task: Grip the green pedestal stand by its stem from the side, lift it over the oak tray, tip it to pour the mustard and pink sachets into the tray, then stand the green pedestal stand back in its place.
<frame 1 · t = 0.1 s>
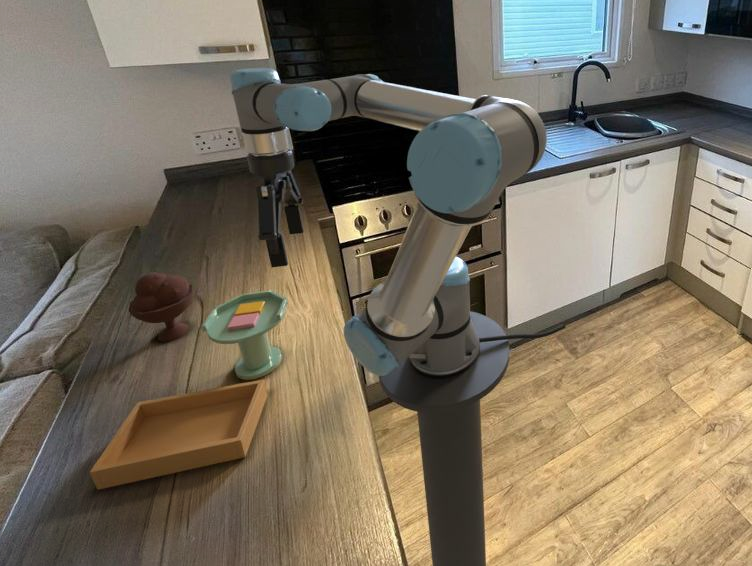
hand: (288, 248, 91), 22 cm above the table, tool pointing down, fingers open, 13 cm apart
ice cream bowl: (173, 333, 97), on the table
green pedestal stand: (259, 364, 89), on the table, touching sachet a, sachet b
sachet a: (250, 310, 87), point 12 cm above the table, touching green pedestal stand
sachet b: (244, 323, 83), point 12 cm above the table, touching green pedestal stand
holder: (192, 437, 74), on the table
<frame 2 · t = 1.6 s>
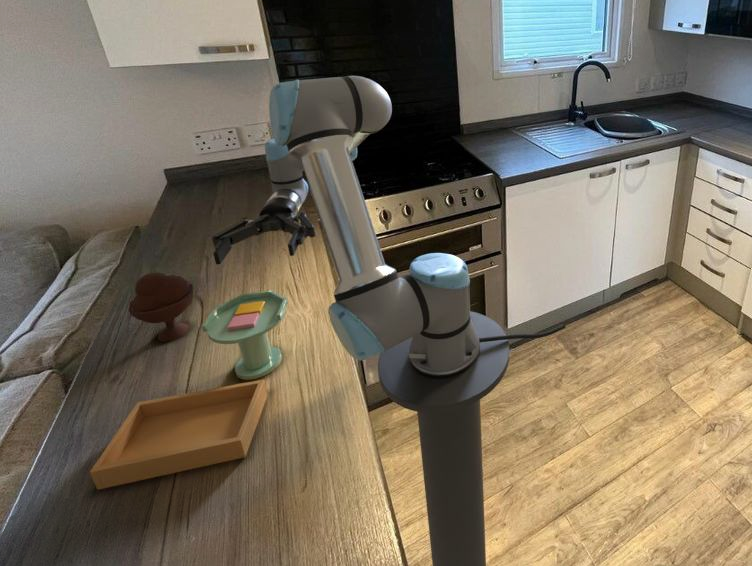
hand: (254, 254, 91), 20 cm above the table, tool horizontal, fingers open, 13 cm apart
nothing on the table moved.
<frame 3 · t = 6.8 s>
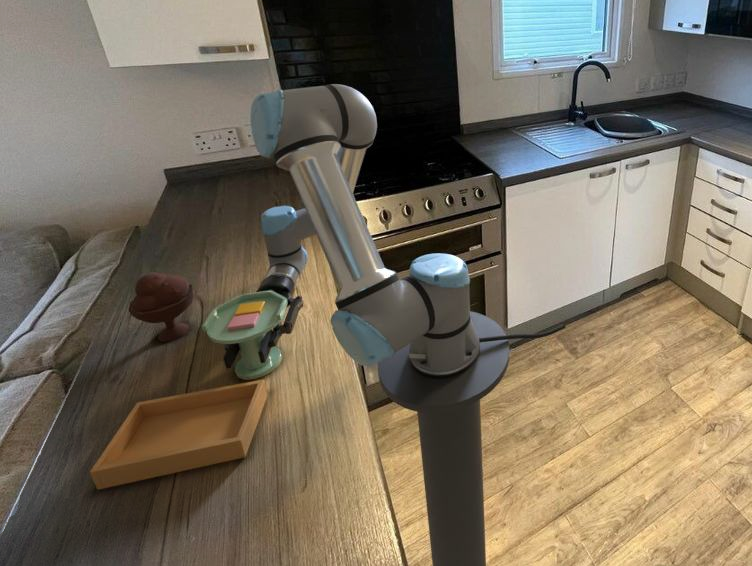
hand: (244, 360, 82), 6 cm above the table, tool horizontal, fingers closed on green pedestal stand, 5 cm apart
green pedestal stand: (259, 364, 89), on the table, touching gripper, sachet a, sachet b
everything else where it was.
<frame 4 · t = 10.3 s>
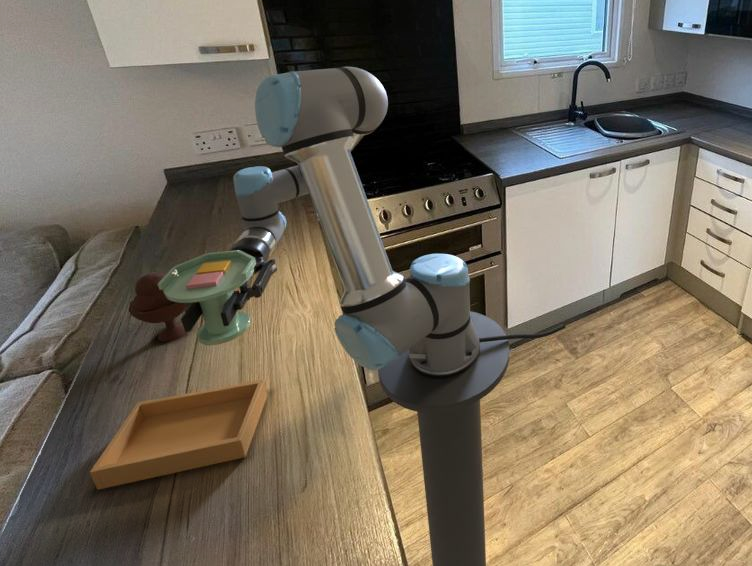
hand: (205, 322, 75), 18 cm above the table, tool horizontal, fingers closed on green pedestal stand, 5 cm apart
green pedestal stand: (225, 329, 81), point 12 cm above the table, touching gripper, sachet a, sachet b
sachet a: (214, 270, 79), point 24 cm above the table, touching green pedestal stand
sachet b: (205, 282, 76), point 24 cm above the table, touching green pedestal stand
everything else where it was.
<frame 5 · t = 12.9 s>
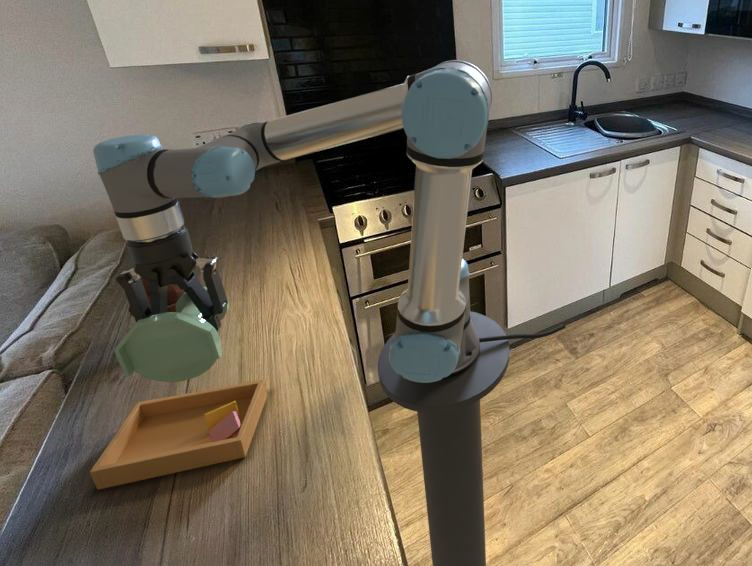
hand: (196, 349, 77), 12 cm above the table, tool pointing down, fingers closed on green pedestal stand, 5 cm apart
green pedestal stand: (204, 305, 81), point 17 cm above the table, tilted 89°, touching gripper
sachet a: (222, 417, 75), point 3 cm above the table, tilted 118°, touching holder
sachet b: (227, 429, 73), point 3 cm above the table, tilted 40°, touching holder
everything else where it was.
when the fingers open (6 cm above the table, at t = 20.7 s): green pedestal stand stays where it is, on the table.
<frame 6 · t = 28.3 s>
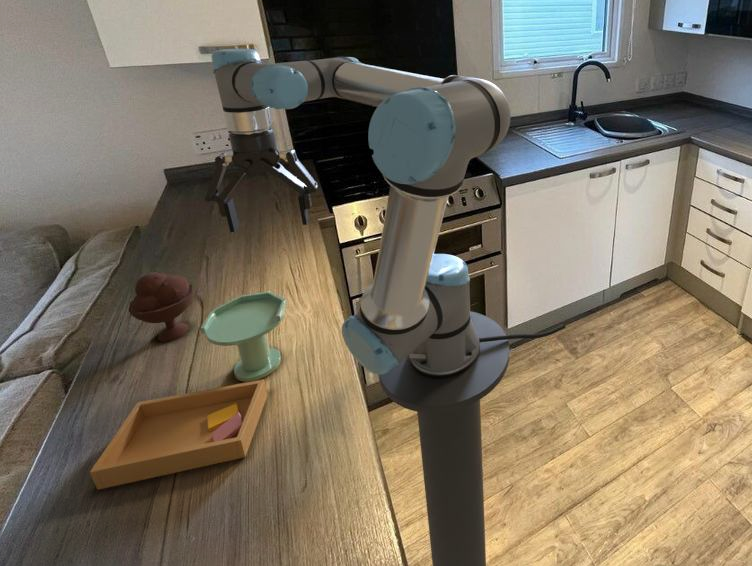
hand: (271, 225, 93), 25 cm above the table, tool pointing down, fingers open, 13 cm apart
green pedestal stand: (258, 366, 89), on the table
sachet a: (222, 415, 76), point 2 cm above the table, tilted 180°, touching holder
sachet b: (229, 430, 73), point 2 cm above the table, tilted 20°, touching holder
everything else where it was.
at the end: sachet a inside the target area in the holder (4.6 cm from its centre), point 1.6 cm above the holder's base; sachet b inside the target area in the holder (6.6 cm from its centre), point 1.6 cm above the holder's base; green pedestal stand tilted 0° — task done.
